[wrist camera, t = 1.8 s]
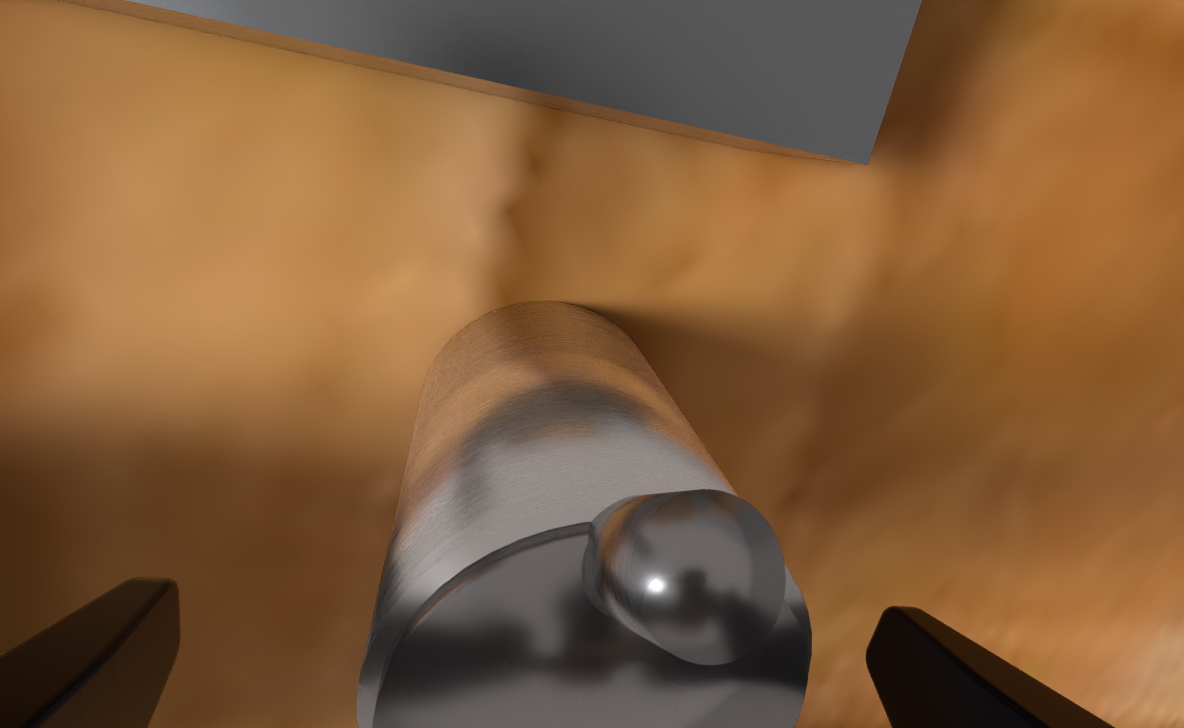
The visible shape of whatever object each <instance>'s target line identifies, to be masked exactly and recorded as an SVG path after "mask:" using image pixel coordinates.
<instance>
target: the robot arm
mask: <svg viewBox="0 0 1184 728" xmlns="http://www.w3.org/2000/svg"><path fill="white" fill-rule="evenodd" d="M179 645H180V611H179V589H178V585H177V583H176V582H175V581H174V580H173V579H170V578H153V577H135V578H131V579H129V580H127V581H125V582H123V583H121V584H120V585H118V586H116V587H115V588H113V589H111V590H110V591H108V592H106V593H105V594H103V595H101V596H100V597H98V598H96V599H95V600H93V601H91V602H90V603H88V604H86V605H85V606H83V607H81V608H80V609H78V610H77V611H75V612H73V613H72V614H70V615H68V616H67V617H65V618H63V619H62V620H60V621H58V622H57V623H55V624H53V625H52V626H50V627H48V628H47V629H45V630H43V631H42V632H40V633H38V634H37V635H35V636H33V637H32V638H30V639H28V640H27V641H25V642H23V643H22V644H20V645H18V646H17V647H15V648H13V649H12V650H10V651H8V652H7V653H5V654H3V655H2V656H0V728H148V726H149V723H150V721H151V718H152V716H153V714H154V711H155V709H156V706H157V704H158V701H159V699H160V696H161V694H162V692H163V689H164V687H165V684H166V682H167V679H168V677H169V674H170V672H171V669H172V667H173V665H174V662H175V659H176V656H177V653H178V649H179ZM866 664H867V668H868V671H869V673H870V676H871V678H872V680H873V683H874V685H875V688H876V690H877V693H878V695H879V697H880V700H881V702H882V705H883V707H884V709H885V712H886V714H887V717H888V719H889V722H890V724H891V726H892V728H1115V727H1113V726H1112V725H1110V724H1108V723H1107V722H1105V721H1103V720H1102V719H1100V718H1098V717H1097V716H1095V715H1093V714H1092V713H1090V712H1089V711H1087V710H1085V709H1084V708H1082V707H1080V706H1079V705H1077V704H1075V703H1074V702H1072V701H1070V700H1069V699H1067V698H1066V697H1064V696H1062V695H1061V694H1059V693H1057V692H1056V691H1054V690H1052V689H1051V688H1049V687H1047V686H1046V685H1044V684H1042V683H1041V682H1039V681H1038V680H1036V679H1034V678H1033V677H1031V676H1029V675H1028V674H1026V673H1024V672H1023V671H1021V670H1019V669H1018V668H1016V667H1015V666H1013V665H1011V664H1010V663H1008V662H1006V661H1005V660H1003V659H1001V658H1000V657H998V656H996V655H995V654H993V653H992V652H990V651H988V650H987V649H985V648H983V647H982V646H980V645H978V644H977V643H975V642H973V641H972V640H970V639H968V638H967V637H965V636H964V635H962V634H960V633H959V632H957V631H955V630H954V629H952V628H950V627H949V626H947V625H945V624H944V623H942V622H941V621H939V620H937V619H936V618H934V617H932V616H931V615H929V614H927V613H926V612H924V611H922V610H921V609H918V608H915V607H905V606H891V607H888V608H887V609H886V610H885V611H884V612H883V613H882V615H881V618H880V620H879V622H878V624H877V627H876V629H875V631H874V633H873V636H872V638H871V640H870V642H869V645H868V647H867V650H866Z"/></svg>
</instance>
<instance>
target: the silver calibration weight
mask: <svg viewBox="0 0 1184 728" xmlns="http://www.w3.org/2000/svg"><path fill="white" fill-rule="evenodd" d="M811 653H812V632H811V626H810V619H809V613H808V610H807V607H806V604H805V601H804V599H803V596H802V593H801V591H800V589H799V587H798V586H797V584H796V582H795V580H794V579H793V577H792V575H791V573H790V572H789V570H788V569H787V567H786V566H785V564H784V558H783V554H782V551H781V548H780V545H779V542H778V540H777V538H776V535H775V534H774V532H773V530H772V528H771V526H770V525H769V524H768V522H767V521H766V520H765V518H764V517H763V516H762V515H761V514H760V513H759V512H758V511H757V510H756V509H755V508H754V507H753V506H752V505H750V504H749V503H748V502H746V501H744V500H743V499H741V498H739V496H738V495H737V494H736V492H735V491H734V489H733V488H732V486H731V485H730V483H729V482H728V480H727V479H726V477H725V476H724V474H723V473H722V471H721V470H720V468H719V467H718V465H717V464H716V463H715V461H714V460H713V458H712V457H711V455H710V454H709V452H708V451H707V449H706V448H705V446H704V445H703V443H702V442H701V440H700V439H699V437H698V436H697V435H696V433H695V432H694V430H693V429H692V427H691V426H690V424H689V423H688V421H687V420H686V418H685V417H684V415H683V414H682V412H681V411H680V409H679V408H678V406H677V405H676V404H675V402H674V401H673V399H672V398H671V396H670V395H669V393H668V392H667V390H666V389H665V387H664V386H663V384H662V383H661V381H660V380H659V378H658V377H657V375H656V374H655V373H654V371H653V370H652V368H651V367H650V365H649V364H648V362H647V361H646V359H645V358H644V356H643V355H642V353H641V352H640V350H639V349H638V347H637V346H636V345H635V344H634V343H633V341H632V340H631V339H630V338H629V336H628V335H627V334H625V333H624V332H623V331H622V330H621V329H620V328H619V327H618V326H616V325H615V324H614V323H612V322H611V321H609V320H608V319H606V318H605V317H603V316H601V315H599V314H597V313H595V312H593V311H591V310H588V309H585V308H582V307H580V306H577V305H572V304H567V303H562V302H552V301H533V302H524V303H518V304H513V305H509V306H506V307H503V308H499V309H496V310H494V311H492V312H490V313H487V314H485V315H483V316H481V317H479V318H478V319H476V320H474V321H473V322H471V323H470V324H468V325H467V326H465V327H464V328H463V329H462V330H460V331H459V332H458V333H457V334H456V335H454V337H453V338H452V339H451V340H450V341H449V342H448V343H447V344H446V345H445V346H444V347H443V349H442V350H441V352H440V353H439V354H438V356H437V357H436V359H435V360H434V362H433V364H432V366H431V368H430V370H429V372H428V374H427V377H426V380H425V383H424V386H423V390H422V394H421V399H420V403H419V408H418V412H417V417H416V422H415V426H414V431H413V435H412V440H411V444H410V449H409V454H408V458H407V463H406V467H405V472H404V476H403V481H402V486H401V490H400V495H399V499H398V504H397V508H396V513H395V518H394V522H393V527H392V531H391V536H390V540H389V545H388V550H387V554H386V559H385V563H384V568H383V572H382V577H381V582H380V586H379V591H378V595H377V600H376V604H375V609H374V614H373V618H372V623H371V627H370V632H369V636H368V641H367V646H366V650H365V655H364V659H363V664H362V668H361V673H360V679H359V684H358V690H357V723H358V728H794V726H795V724H796V722H797V720H798V717H799V714H800V711H801V708H802V705H803V702H804V698H805V693H806V687H807V681H808V672H809V666H810V660H811Z"/></svg>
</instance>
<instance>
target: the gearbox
mask: <svg viewBox="0 0 1184 728" xmlns="http://www.w3.org/2000/svg"><path fill="white" fill-rule="evenodd" d="M59 1H64V2H69V3H73V4H78V5H82V6H87V7H92V8H96V9H101V10H105V11H110V12H115V13H119V14H124V15H128V16H133V17H138V18H142V19H147V20H151V21H156V22H160V23H165V24H170V25H174V26H179V27H183V28H188V29H193V30H197V31H202V32H206V33H211V34H216V35H220V36H225V37H229V38H234V39H239V40H243V41H248V42H252V43H257V44H262V45H266V46H271V47H275V48H280V49H284V50H289V51H294V52H298V53H303V54H307V55H312V56H317V57H321V58H326V59H330V60H335V61H340V62H344V63H349V64H353V65H358V66H363V67H367V68H372V69H376V70H381V71H386V72H390V73H395V74H399V75H404V76H409V77H413V78H418V79H422V80H427V81H431V82H436V83H441V84H445V85H450V86H454V87H459V88H464V89H468V90H473V91H477V92H482V93H487V94H491V95H496V96H500V97H505V98H510V99H514V100H519V101H523V102H528V103H533V104H537V105H542V106H546V107H551V108H556V109H560V110H565V111H569V112H574V113H578V114H583V115H588V116H592V117H597V118H601V119H606V120H611V121H615V122H620V123H624V124H629V125H634V126H638V127H643V128H647V129H652V130H657V131H661V132H666V133H670V134H675V135H680V136H684V137H689V138H693V139H698V140H702V141H707V142H712V143H716V144H721V145H725V146H730V147H735V148H739V149H744V150H749V151H757V152H765V153H773V154H781V155H789V156H797V157H806V158H814V159H822V160H830V161H838V162H846V163H854V164H862V165H868V163H869V160H870V157H871V153H872V150H873V147H874V144H875V141H876V138H877V135H878V132H879V129H880V126H881V123H882V120H883V117H884V114H885V111H886V108H887V105H888V102H889V99H890V96H891V93H892V90H893V87H894V84H895V81H896V78H897V75H898V72H899V69H900V66H901V63H902V60H903V57H904V54H905V51H906V48H907V45H908V42H909V39H910V36H911V33H912V30H913V27H914V24H915V21H916V18H917V15H918V12H919V9H920V6H921V3H922V0H59Z"/></svg>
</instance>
